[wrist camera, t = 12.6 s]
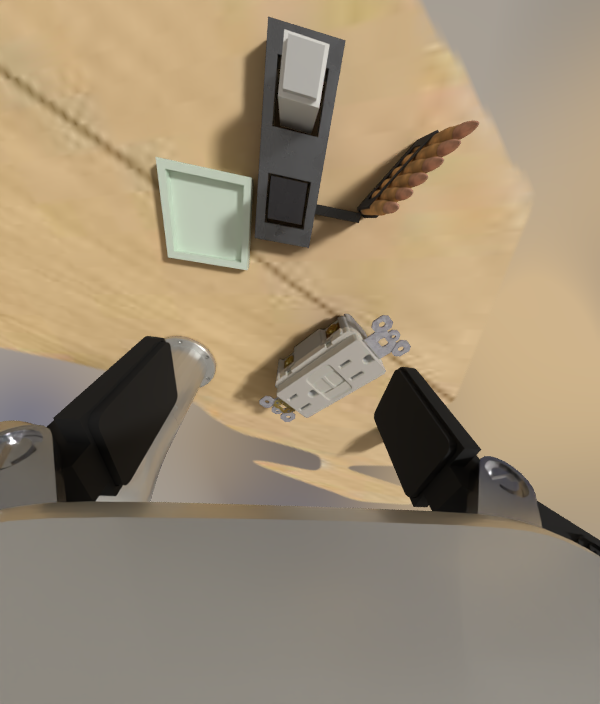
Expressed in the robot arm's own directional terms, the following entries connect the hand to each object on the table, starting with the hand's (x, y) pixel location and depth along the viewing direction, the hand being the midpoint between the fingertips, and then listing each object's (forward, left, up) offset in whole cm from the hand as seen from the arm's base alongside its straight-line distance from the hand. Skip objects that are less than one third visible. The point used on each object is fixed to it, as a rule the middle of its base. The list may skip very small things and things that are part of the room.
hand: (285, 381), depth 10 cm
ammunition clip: (+12, -13, -33) cm, 37 cm away
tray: (+3, +12, -32) cm, 35 cm away
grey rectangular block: (+17, +1, -32) cm, 37 cm away
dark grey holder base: (+12, -2, -32) cm, 35 cm away
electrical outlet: (-18, -10, -33) cm, 39 cm away
